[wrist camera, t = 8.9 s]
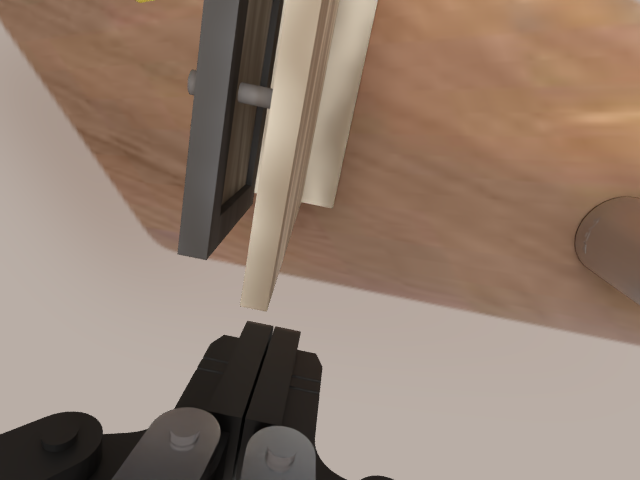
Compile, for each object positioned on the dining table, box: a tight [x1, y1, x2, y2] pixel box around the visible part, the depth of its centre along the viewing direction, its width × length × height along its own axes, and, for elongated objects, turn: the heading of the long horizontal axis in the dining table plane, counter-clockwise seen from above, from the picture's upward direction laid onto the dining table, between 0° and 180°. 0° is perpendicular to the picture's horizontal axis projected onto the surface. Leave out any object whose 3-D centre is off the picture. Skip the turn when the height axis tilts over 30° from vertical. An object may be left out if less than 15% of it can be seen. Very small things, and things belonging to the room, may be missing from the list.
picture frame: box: [178, 0, 284, 260], centre depth 28 cm, size 2×18×14 cm, turn 169°
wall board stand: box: [238, 0, 378, 311], centre depth 32 cm, size 12×22×26 cm, turn 169°
